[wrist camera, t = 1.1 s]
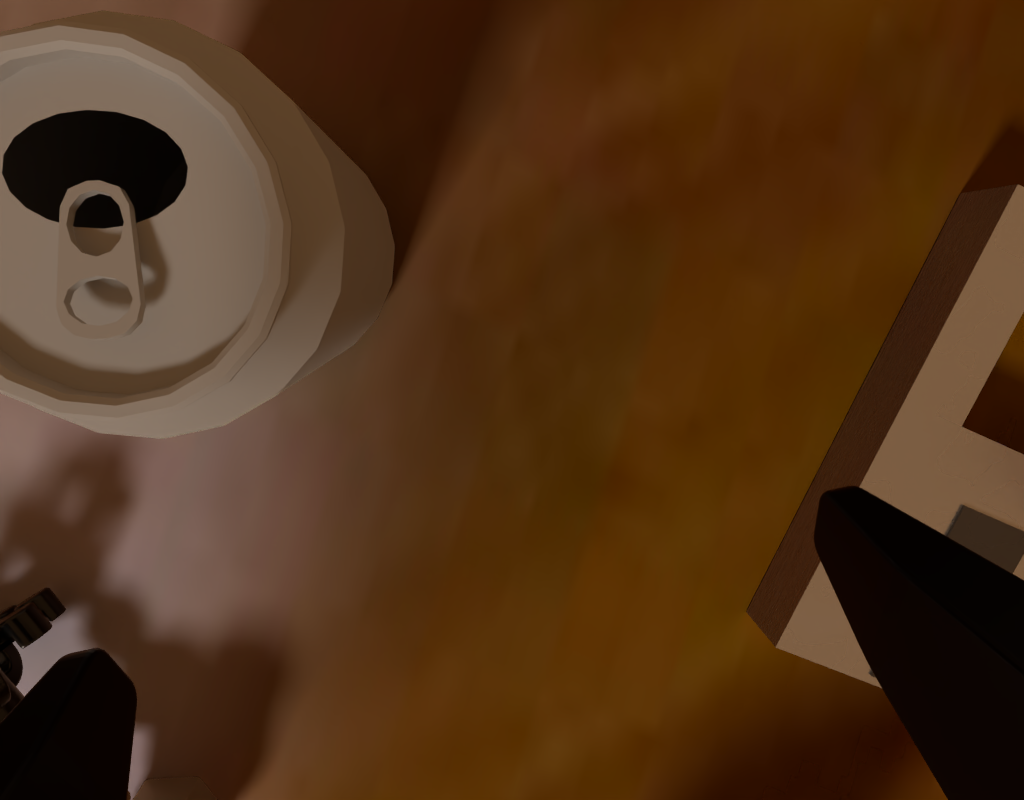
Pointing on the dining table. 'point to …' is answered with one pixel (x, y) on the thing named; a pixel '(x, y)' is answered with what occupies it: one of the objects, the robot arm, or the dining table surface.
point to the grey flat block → (919, 429)
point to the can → (170, 229)
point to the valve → (3, 674)
